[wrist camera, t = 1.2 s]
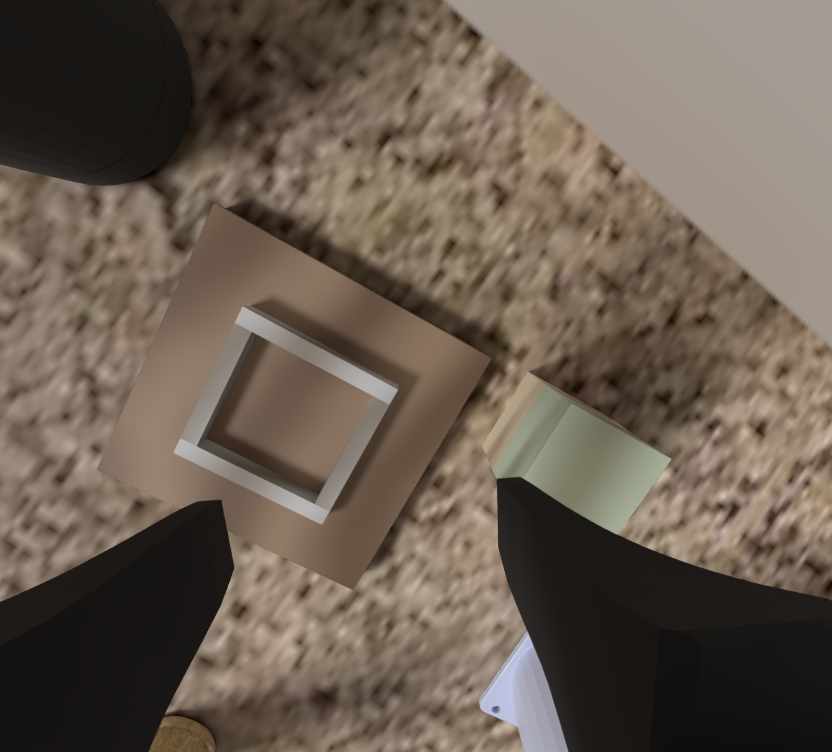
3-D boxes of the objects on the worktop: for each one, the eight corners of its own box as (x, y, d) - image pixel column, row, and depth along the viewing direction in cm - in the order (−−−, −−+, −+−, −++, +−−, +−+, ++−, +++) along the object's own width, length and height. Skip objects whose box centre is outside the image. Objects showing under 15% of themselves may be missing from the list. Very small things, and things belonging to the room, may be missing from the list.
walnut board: (487, 354, 21) (495, 362, 19) (356, 575, 24) (350, 604, 22) (225, 208, 20) (203, 198, 18) (113, 459, 22) (81, 478, 20)
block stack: (602, 413, 22) (671, 459, 16) (554, 484, 23) (604, 553, 17) (527, 371, 22) (571, 403, 16) (481, 446, 22) (507, 502, 17)
